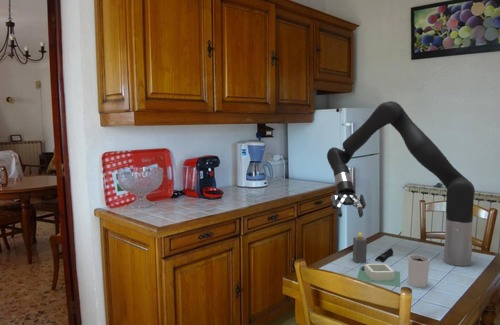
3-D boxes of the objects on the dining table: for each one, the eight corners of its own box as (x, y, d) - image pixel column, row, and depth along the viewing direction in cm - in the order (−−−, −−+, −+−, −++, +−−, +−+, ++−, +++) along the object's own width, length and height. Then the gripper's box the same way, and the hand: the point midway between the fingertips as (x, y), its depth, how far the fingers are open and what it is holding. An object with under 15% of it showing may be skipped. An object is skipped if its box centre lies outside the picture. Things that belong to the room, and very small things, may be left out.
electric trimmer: (395, 256, 163) (395, 248, 163) (383, 265, 151) (383, 258, 151) (386, 254, 165) (387, 247, 165) (373, 263, 153) (374, 256, 153)
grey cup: (404, 282, 135) (405, 254, 134) (424, 283, 134) (425, 255, 133) (410, 290, 128) (411, 261, 127) (431, 291, 128) (432, 261, 127)
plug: (362, 261, 155) (363, 231, 154) (365, 265, 151) (367, 234, 150) (352, 261, 155) (353, 231, 153) (355, 265, 151) (356, 234, 149)
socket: (385, 271, 142) (385, 263, 142) (394, 280, 134) (395, 272, 134) (363, 271, 141) (364, 263, 141) (371, 280, 134) (372, 272, 133)
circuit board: (399, 274, 142) (400, 270, 142) (399, 289, 129) (399, 285, 129) (360, 269, 147) (360, 265, 147) (356, 283, 134) (356, 278, 134)
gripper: (330, 179, 170) (336, 211, 159) (362, 180, 170) (370, 211, 160) (326, 189, 175) (332, 221, 165) (357, 189, 176) (365, 221, 166)
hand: (351, 216), depth 163 cm, fingers open, 8 cm apart
